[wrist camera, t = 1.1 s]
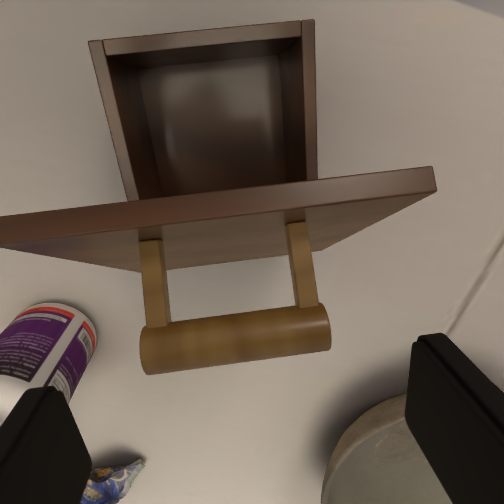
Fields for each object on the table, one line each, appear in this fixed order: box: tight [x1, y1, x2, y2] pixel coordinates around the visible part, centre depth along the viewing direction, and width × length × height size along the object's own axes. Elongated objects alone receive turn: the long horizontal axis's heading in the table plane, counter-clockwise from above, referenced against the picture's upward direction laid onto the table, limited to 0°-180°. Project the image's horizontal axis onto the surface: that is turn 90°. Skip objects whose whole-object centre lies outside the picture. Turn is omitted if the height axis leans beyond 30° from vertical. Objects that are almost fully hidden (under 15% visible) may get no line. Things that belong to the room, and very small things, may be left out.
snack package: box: [80, 458, 145, 504], centre depth 43 cm, size 12×6×12 cm
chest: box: [88, 19, 318, 201], centre depth 26 cm, size 14×13×9 cm
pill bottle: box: [0, 303, 97, 426], centre depth 29 cm, size 8×8×14 cm
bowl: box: [321, 393, 452, 504], centre depth 43 cm, size 27×28×8 cm
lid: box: [0, 166, 437, 375], centre depth 17 cm, size 14×13×5 cm
